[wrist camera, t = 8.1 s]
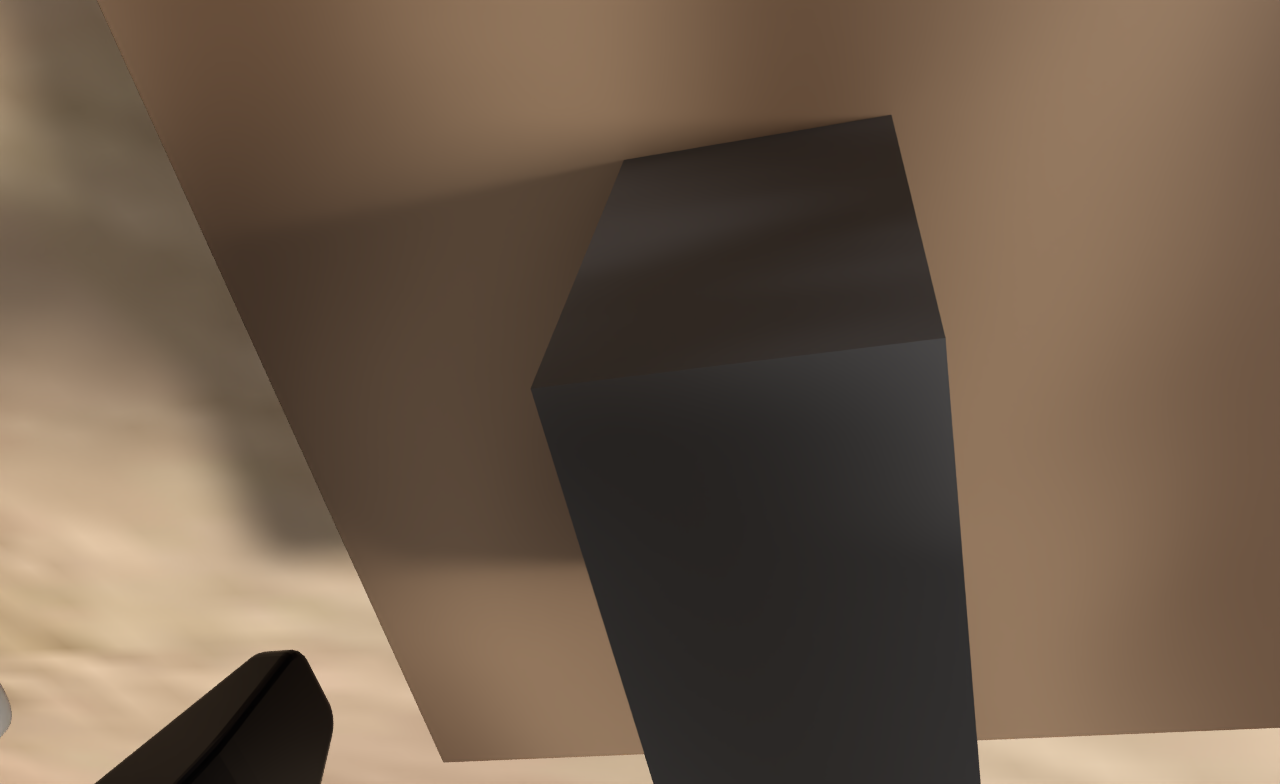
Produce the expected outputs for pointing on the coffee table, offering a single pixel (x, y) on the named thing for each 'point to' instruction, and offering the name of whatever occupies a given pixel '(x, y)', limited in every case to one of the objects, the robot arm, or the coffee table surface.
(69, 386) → the coffee table surface
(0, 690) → the chubby cartoon animal
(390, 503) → the lid
